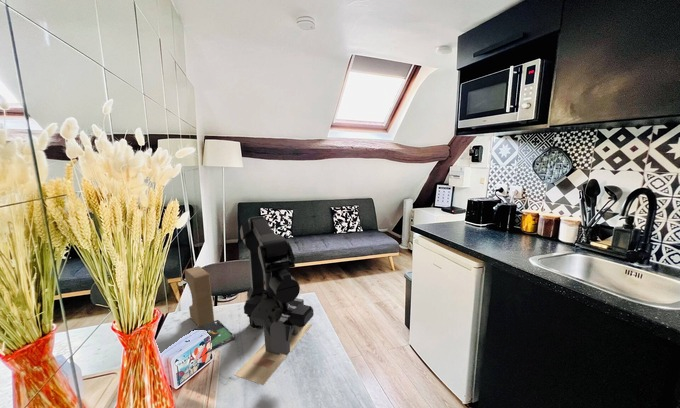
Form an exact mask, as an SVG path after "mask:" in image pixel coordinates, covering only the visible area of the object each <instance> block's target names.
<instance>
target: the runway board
mask: <svg viewBox="0 0 680 408" xmlns="http://www.w3.org/2000/svg"><path fill="white" fill-rule="evenodd" d="M312 326H313V324H312V323H309V322H308V323H307V324H306V325H305V326H303V327H299V326H298V333H297V335H296V336H295V335H291V337H290V352H289V353H288V355H289V354H290V353H291V351H292V350H293V349H294V348H295V346H297V344H298V343H299V342H300V341H301V339H302V338H303V337H304V336H305V334H306V333H307V332H308V331H309V330H310V328H311V327H312ZM288 355H284V354H281V353H280V355H277V354H274V353H270V352H266V349H265V343H263V345H262V346H261V347H260V348H259V349H258V350H257V351H256V352H255V353H254V354H253V355H252V356H251V357H250V358H249V359H248V360H247V361H246V362H245V363H244V365H242V366H241V367H240V368H239V370H238V371H236V372H235V374H234V376H236V377H239V378H241V379H244V380H248V381H251V382H254V383H257V384H260V385H262V386H264V385H265V384H266V382H267V381H268V380H269V379H270V378H271V376H272V375H273V374H274V373H275V371H277V369H278V367H280V365H281V364H282V363H283V361H284V360H285V359H287V357H288Z"/></svg>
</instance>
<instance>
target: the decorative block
mask: <svg viewBox="0 0 680 408" xmlns="http://www.w3.org/2000/svg"><path fill="white" fill-rule="evenodd" d="M184 276H185V277H184V278H185V282H186V283H187V285H188V287H189V288H188V289H189V290H190V294H191V295H190V296H191V300H192V301H191V302H192V305H190V306H189V307H188V308H189V309H188V310H189V316H190V318H191V320H192V321H193V322H194V323H195V324H196V325H197V327H198V329H199V328H201V327H202V326H203V325H206V324H209V323H211V322H213V321H215V314H214V305H213V299H212V298H213V296H212V288H211V287H212V286H211V279H210V277H211V276H210V273H208V272H207V271H206V270H205V269H204V268H202V267H201V266H199V265H198V266H195V267H190V268H186V269H185V270H184Z"/></svg>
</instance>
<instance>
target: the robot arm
mask: <svg viewBox="0 0 680 408" xmlns="http://www.w3.org/2000/svg"><path fill="white" fill-rule="evenodd" d="M239 233H240V239H241V240H242V242H243V244H244V245H245V247H246V248H247V249H248V263H249V274H250V287H249V289H248V292H247V294H246V299H247V300H245V303H244V305H243V313H244V315H246V316H247V318H248V320H249V325H251V327H252V328H254V329H260V328H263V329H264V327H265V328H266V329H267V331H268V333H269V335H270V326H271V325H272V323H277V322H278V321H279V319H280V318H281V316H282V315H287V317H288V318H287V320H286V321H285V322H284V323H283V325H285V328H286V340H287V341H289V340H290V337H291V335H292V332H293V329H294V327H295V326H299V327H303V326H305V325H306V324H307V323H308V324H309V321H310V320H311V319H312V318H313V316H314V308H313V306H312V305H307V304H304V305H302V304H299V305H298V306H297V307H293V308H291V307H289V304H290V303H291V301H293V300H294V299H296V298H298V296H299V294H300V290H301V287H300V284H299V282H298V281H297V280H296V279H295V278H294V276H292V274H291V272H290V269H293V268H295V267H296V264H295V261H296V258H295V254H294V251H293V248H292V246H291V243H290V242H289V241H288V240H287V239H286V238H285V237H284V236H283V235H281V234H276V233H275V232H274V230H273V229H272V228H271V226H270V224H269V223H268V221H267V217H266V216H263V215H261V216H259V215H258V216H252V217H249V218H248V220H247V221H246V222H244V223H243V224H241V226H240V230H239Z"/></svg>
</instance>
